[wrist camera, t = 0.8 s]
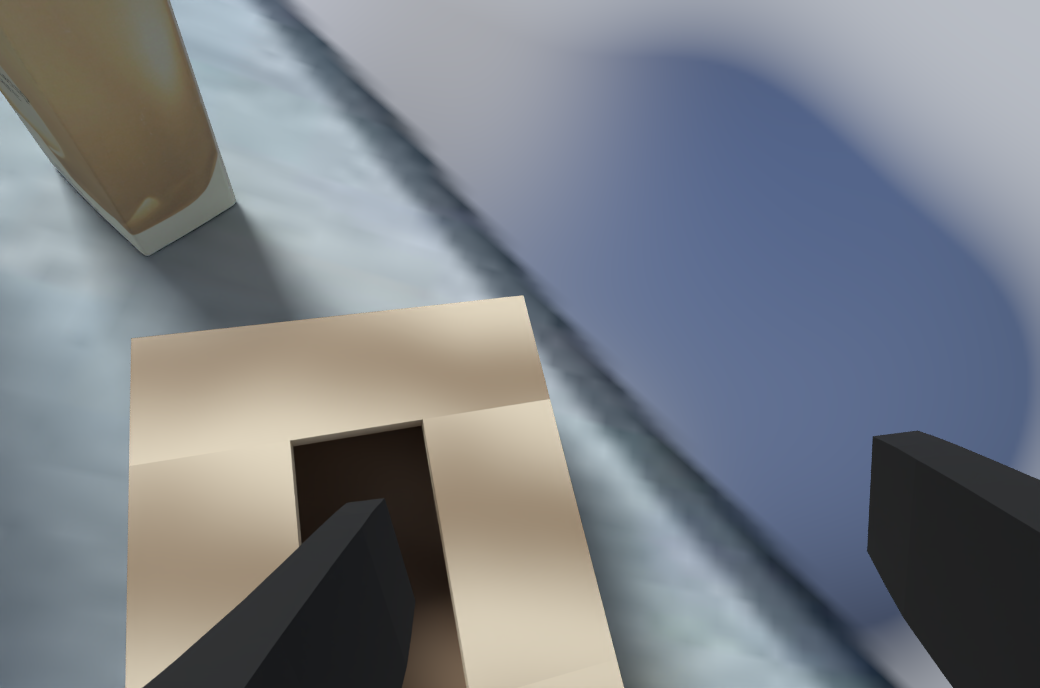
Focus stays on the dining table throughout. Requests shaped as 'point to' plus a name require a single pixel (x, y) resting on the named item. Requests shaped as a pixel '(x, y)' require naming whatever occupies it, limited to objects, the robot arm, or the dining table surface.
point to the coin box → (365, 486)
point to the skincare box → (116, 111)
